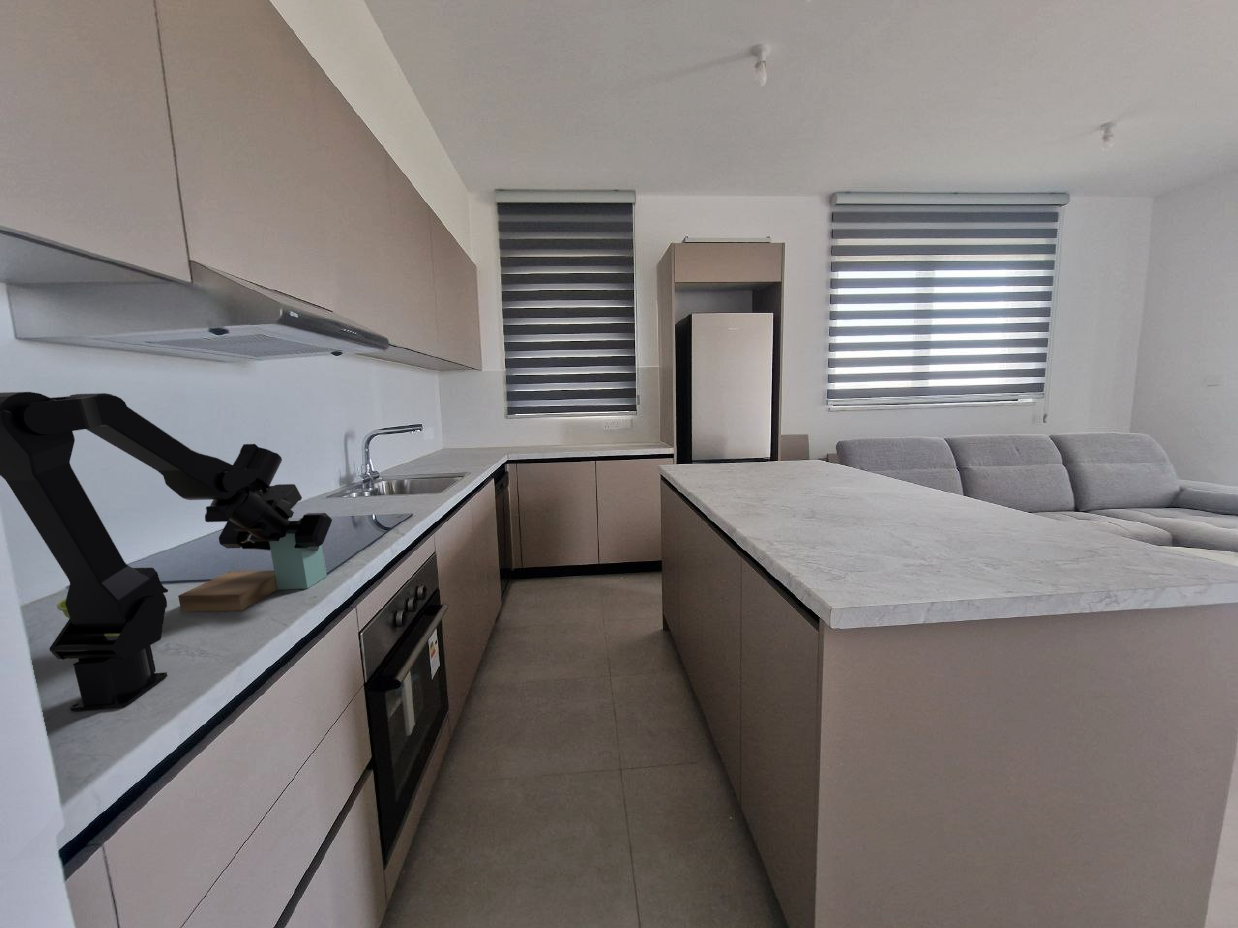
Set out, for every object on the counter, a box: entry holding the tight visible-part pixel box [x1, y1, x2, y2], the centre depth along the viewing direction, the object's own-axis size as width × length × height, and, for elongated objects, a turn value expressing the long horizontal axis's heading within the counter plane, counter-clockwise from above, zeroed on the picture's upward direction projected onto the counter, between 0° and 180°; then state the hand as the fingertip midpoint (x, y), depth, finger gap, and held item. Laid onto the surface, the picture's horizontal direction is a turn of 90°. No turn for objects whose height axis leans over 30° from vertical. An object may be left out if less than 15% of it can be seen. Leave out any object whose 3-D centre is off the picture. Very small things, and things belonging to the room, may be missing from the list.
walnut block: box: [177, 569, 278, 612], centre depth 88 cm, size 11×11×3 cm
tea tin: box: [269, 519, 328, 591], centre depth 94 cm, size 6×6×12 cm
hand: (302, 549), depth 95 cm, fingers closed on tea tin, 6 cm apart
